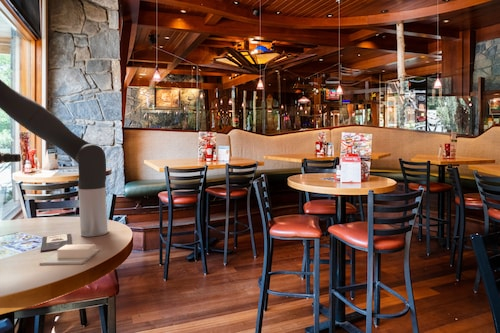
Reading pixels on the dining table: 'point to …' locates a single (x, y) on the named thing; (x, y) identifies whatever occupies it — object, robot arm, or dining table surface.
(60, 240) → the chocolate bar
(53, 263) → the mat
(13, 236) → the dining table surface
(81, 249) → the deck box
